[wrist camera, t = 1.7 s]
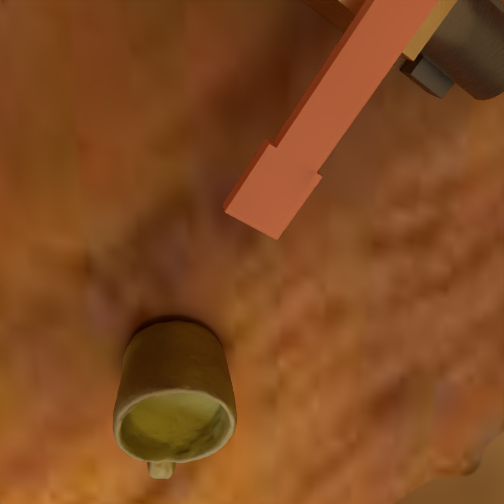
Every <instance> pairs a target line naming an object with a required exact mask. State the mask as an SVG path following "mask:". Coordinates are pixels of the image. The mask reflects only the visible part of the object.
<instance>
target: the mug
mask: <svg viewBox="0 0 504 504" xmlns="http://www.w3.org/2000/svg"><path fill="white" fill-rule="evenodd" d="M236 423H237V412H236V405H235V397H234V392H233V387H232V382H231V378H230V374H229V370H228V366H227V362H226V358H225V354H224V351H223V349H222V346H221V344H220V343H219V341H218V340H217V338H216V337H215V336H214V335H213V334H212V333H211V332H210V331H208V330H207V329H206V328H204V327H203V326H201V325H199V324H196V323H193V322H186V321H181V320H174V321H171V322H161V323H156V324H154V325H151V326H150V327H147V328H145V329H143V330H141V331H140V332H138V333H137V334H136V335H135V336H134V337H133V338H132V340H131V341H130V343H129V345H128V347H127V348H126V351H125V353H124V357H123V361H122V375H121V381H120V386H119V390H118V395H117V399H116V403H115V408H114V414H113V432H114V436H115V439H116V442H117V444H118V446H119V447H120V448H121V449H122V450H123V451H124V452H125V453H126V454H128V455H129V456H131V457H133V458H135V459H137V460H141V461H143V462H147V465H148V469H149V475H150V476H151V477H152V478H156V479H159V478H165V479H168V478H169V477H170V476H171V475H172V474H173V472H174V469H175V462H177V463H185V462H189V461H193V460H198V459H201V458H203V457H208V456H209V455H211V454H213V453H215V452H217V451H218V450H219V449H220V448H221V447H223V446H224V445H225V444H226V443H227V442H228V441H229V439H230V438H231V436H232V435H233V433H234V431H235V428H236Z"/></svg>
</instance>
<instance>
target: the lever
mask: <svg viewBox="0 0 504 504" xmlns="http://www.w3.org/2000/svg"><path fill="white" fill-rule="evenodd" d="M438 1H439V0H366V1H365V3H364V4H363V6H362V7H361V9H360V10H359V12H358V13H357V15H356V16H355V18H354V19H353V21H352V22H351V24H350V25H349V27H348V29H347V30H346V32H345V33H344V35H343V36H342V38H341V39H340V41H339V42H338V44H337V45H336V47H335V48H334V50H333V51H332V53H331V54H330V56H329V57H328V59H327V60H326V62H325V63H324V65H323V67H322V68H321V70H320V71H319V73H318V74H317V76H316V77H315V79H314V80H313V82H312V83H311V85H310V86H309V88H308V89H307V91H306V92H305V94H304V95H303V97H302V98H301V100H300V101H299V103H298V104H297V106H296V108H295V109H294V111H293V112H292V114H291V115H290V117H289V118H288V120H287V121H286V123H285V124H284V126H283V127H282V129H281V130H280V132H279V133H278V135H277V136H276V138H275V139H274V141H273V142H272V141H270V140H268V139H267V138H266V139H265V140H264V142H263V143H262V145H261V146H260V148H259V149H258V151H257V153H256V154H255V156H254V157H253V159H252V160H251V162H250V163H249V165H248V166H247V168H246V169H245V171H244V173H243V174H242V176H241V177H240V179H239V180H238V182H237V183H236V185H235V186H234V188H233V189H232V191H231V193H230V194H229V196H228V197H227V199H226V200H225V202H224V203H223V207H224V212H225V213H227V214H229V215H231V216H233V217H235V218H236V219H238V220H240V221H242V222H244V223H246V224H248V225H249V226H251V227H253V228H255V229H257V230H259V231H261V232H263V233H264V234H266V235H268V236H270V237H272V238H274V239H276V240H278V238H279V237H280V235H281V234H282V233H283V231H284V230H285V228H286V227H287V226H288V224H289V223H290V221H291V220H292V219H293V217H294V216H295V215H296V213H297V212H298V210H299V209H300V208H301V206H302V205H303V203H304V202H305V201H306V199H307V198H308V196H309V195H310V194H311V192H312V191H313V189H314V188H315V187H316V185H317V184H318V183H319V181H320V180H321V178H322V175H321V174H320V173H319V172H318V170H319V168H320V167H321V165H322V164H323V163H324V161H325V160H326V158H327V157H328V156H329V154H330V153H331V151H332V150H333V149H334V147H335V146H336V144H337V143H338V142H339V140H340V139H341V137H342V136H343V135H344V133H345V132H346V130H347V129H348V128H349V126H350V125H351V123H352V122H353V121H354V119H355V118H356V116H357V115H358V113H359V112H360V111H361V109H362V108H363V106H364V105H365V104H366V102H367V101H368V99H369V98H370V97H371V95H372V94H373V92H374V91H375V90H376V88H377V87H378V85H379V84H380V83H381V81H382V80H383V78H384V77H385V76H386V74H387V73H388V71H389V70H390V69H391V67H392V66H393V64H394V63H395V61H396V60H397V59H398V57H399V56H400V54H401V53H402V52H403V50H404V49H405V47H406V46H407V45H408V43H409V42H410V40H411V39H412V38H413V36H414V35H415V33H416V32H417V31H418V29H419V28H420V26H421V25H422V24H423V22H424V21H425V19H426V18H427V17H428V15H429V14H430V12H431V11H432V9H433V8H434V7H435V5H436V4H437V2H438Z"/></svg>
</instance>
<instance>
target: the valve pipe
mask: <svg viewBox="0 0 504 504" xmlns="http://www.w3.org/2000/svg"><path fill="white" fill-rule="evenodd" d="M302 1H304V2H305V3H306V4H308V5H309V6H310V7H311V8H313V9H314V10H315V11H317V12H318V13H319V14H320V15H322V16H323V17H324V18H326V19H327V20H328V21H329V22H331V23H332V24H333V25H334V26H336V27H337V28H338V29H340V30H341V31H342V32H343V33H345V32H346V30H347V29H348V27H349V25H350V24H351V22H352V21H353V19H354V18H355V16H356V15H357V13H358V12H359V10H360V9H361V7H362V6H363V4H364V3H365V1H366V0H302ZM399 57H401V58H404V59H407V61H406V62H405V64H404V65H403V66H402V68H401V69H400V71H401V72H402V73H404V74H405V75H406V76H408V77H409V78H410V79H411V80H413V81H414V82H415V83H416V84H418V85H419V86H420V87H422V88H423V89H424V90H425V91H427V92H428V93H429V94H431V95H434V96H436V97H438V98H441V99H442V98H443V97H444V95H445V94H446V93H447V91H448V90H449V89H450V87H451V86H452V85H453V84H454V82H455V83H456V84H458V85H459V86H460V87H461V88H462V89H464V90H465V91H466V92H467V93H469V94H470V95H471V96H472V97H473V98H475V99H477V100H487V99H490V98H493V97H495V96H497V95H499V94H501V93H502V92H504V6H503V5H502V4H501V3H500V2H499V1H498V0H439V1H438V2H437V4H436V5H435V7H434V8H433V9H432V11H431V12H430V14H429V15H428V17H427V18H426V19H425V21H424V22H423V24H422V25H421V26H420V28H419V29H418V31H417V32H416V33H415V35H414V36H413V38H412V39H411V40H410V42H409V43H408V45H407V46H406V47H405V49H404V50H403V52H402V53H401V54H400V56H399Z"/></svg>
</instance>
